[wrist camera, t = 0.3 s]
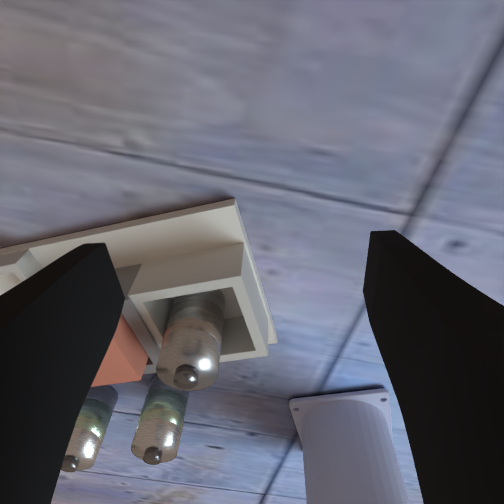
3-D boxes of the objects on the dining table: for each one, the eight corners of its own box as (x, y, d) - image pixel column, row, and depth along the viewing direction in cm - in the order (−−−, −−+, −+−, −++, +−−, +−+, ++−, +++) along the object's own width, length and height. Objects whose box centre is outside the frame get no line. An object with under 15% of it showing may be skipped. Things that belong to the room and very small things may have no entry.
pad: (154, 339, 23) (141, 380, 21) (100, 348, 24) (81, 388, 22) (128, 296, 21) (110, 335, 19) (70, 306, 22) (46, 345, 20)
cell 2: (195, 393, 31) (182, 469, 26) (160, 397, 31) (139, 473, 26) (182, 369, 29) (164, 446, 24) (144, 374, 29) (119, 450, 24)
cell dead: (235, 298, 23) (230, 379, 18) (205, 326, 25) (193, 408, 20) (193, 272, 22) (175, 351, 17) (164, 303, 23) (140, 384, 19)
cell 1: (124, 402, 32) (98, 476, 27) (91, 406, 32) (59, 480, 27) (107, 379, 30) (76, 455, 25) (72, 384, 30) (34, 459, 25)
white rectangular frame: (277, 334, 26) (278, 383, 23) (50, 367, 29) (22, 414, 26) (235, 198, 20) (228, 237, 17) (-46, 258, 23) (-97, 301, 20)
